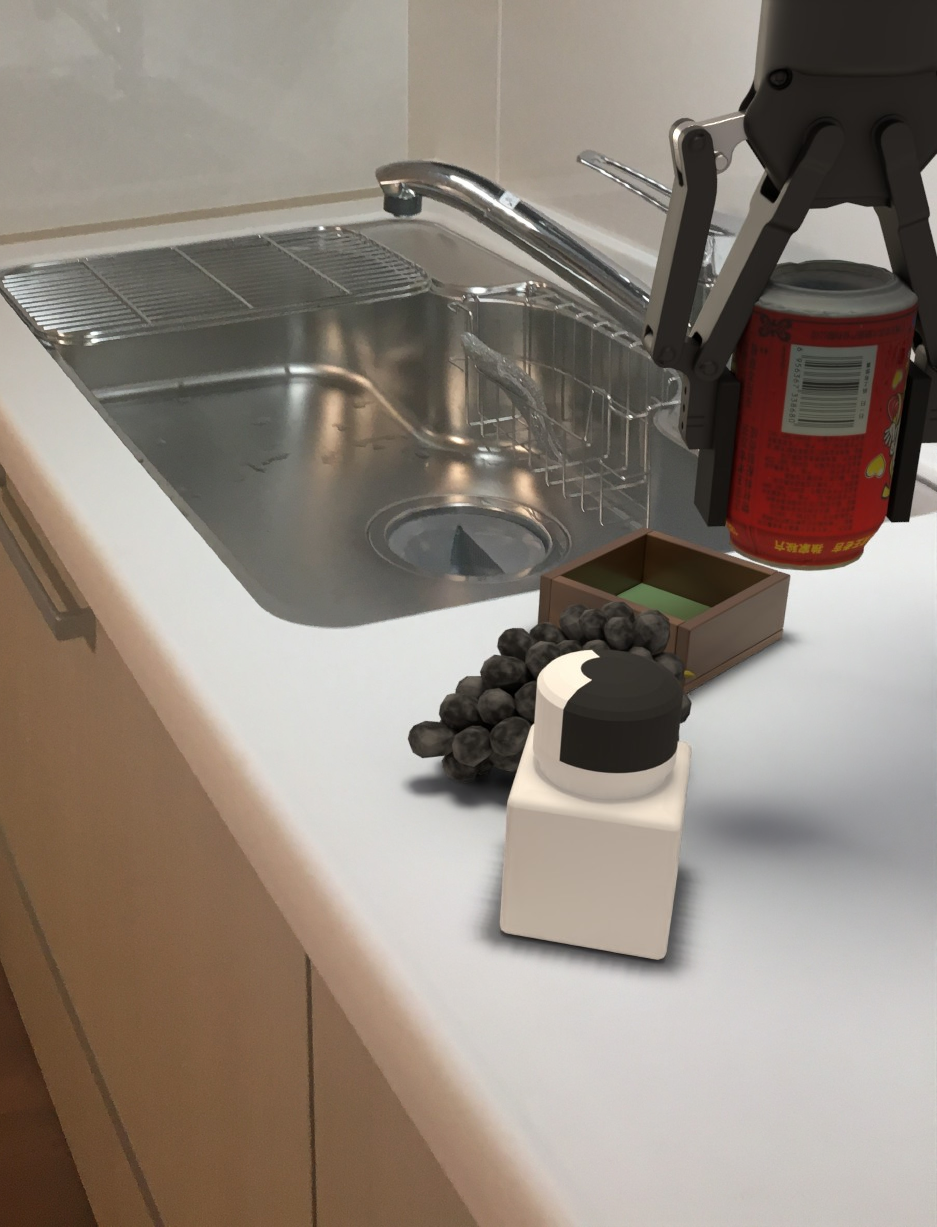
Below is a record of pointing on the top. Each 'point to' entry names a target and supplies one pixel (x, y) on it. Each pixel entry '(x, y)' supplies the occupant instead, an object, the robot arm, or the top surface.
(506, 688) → the fruit
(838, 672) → the top surface
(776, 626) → the wooden box tray
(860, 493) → the soda can
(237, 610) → the top surface
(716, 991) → the top surface
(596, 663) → the medicine bottle
